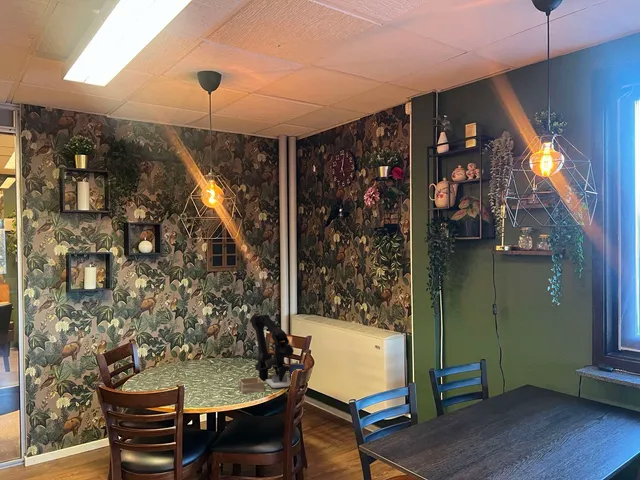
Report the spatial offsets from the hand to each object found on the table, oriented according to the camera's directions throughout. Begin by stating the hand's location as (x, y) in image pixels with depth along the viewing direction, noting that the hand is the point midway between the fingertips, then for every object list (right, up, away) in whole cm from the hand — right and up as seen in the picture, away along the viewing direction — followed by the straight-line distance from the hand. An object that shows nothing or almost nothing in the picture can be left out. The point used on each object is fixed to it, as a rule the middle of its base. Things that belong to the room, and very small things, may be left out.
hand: (279, 380), depth 278 cm
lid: (0, -3, 0) cm, 3 cm away
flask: (+9, -4, +17) cm, 20 cm away
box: (-16, -3, -6) cm, 17 cm away
